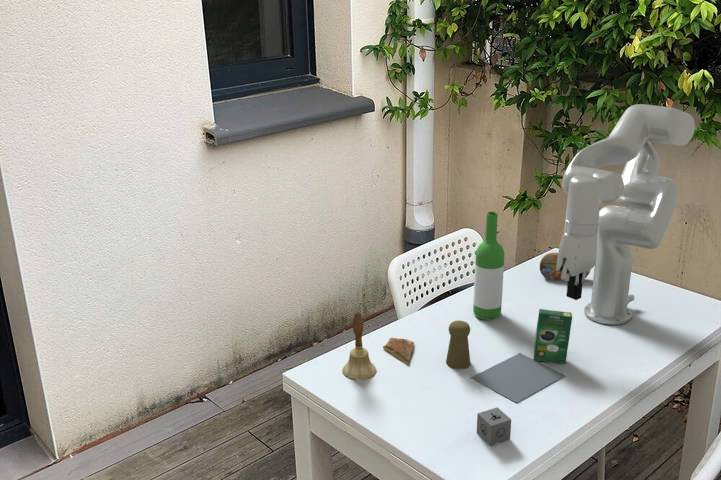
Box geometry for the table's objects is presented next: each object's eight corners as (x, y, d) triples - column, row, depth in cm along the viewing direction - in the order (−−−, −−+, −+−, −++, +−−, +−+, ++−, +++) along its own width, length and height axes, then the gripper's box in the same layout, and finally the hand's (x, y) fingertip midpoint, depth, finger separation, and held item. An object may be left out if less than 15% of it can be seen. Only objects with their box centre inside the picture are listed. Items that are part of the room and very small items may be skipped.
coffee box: (566, 358, 189) (572, 311, 185) (566, 364, 187) (572, 316, 182) (533, 355, 191) (538, 307, 186) (533, 360, 188) (538, 312, 184)
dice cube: (490, 446, 157) (491, 425, 155) (476, 433, 161) (477, 413, 159) (510, 439, 159) (511, 419, 157) (496, 427, 163) (497, 407, 161)
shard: (408, 366, 188) (408, 360, 187) (378, 363, 189) (378, 357, 189) (415, 345, 198) (415, 339, 197) (386, 342, 199) (386, 336, 199)
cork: (456, 354, 192) (457, 315, 188) (475, 362, 188) (477, 322, 184) (440, 362, 188) (442, 323, 184) (460, 371, 184) (461, 331, 180)
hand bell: (370, 382, 181) (370, 322, 175) (337, 377, 183) (336, 317, 177) (380, 364, 188) (379, 306, 182) (348, 360, 190) (347, 302, 185)
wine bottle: (487, 323, 207) (493, 220, 196) (467, 313, 213) (471, 212, 202) (506, 315, 212) (513, 213, 201) (486, 305, 217) (491, 206, 207)
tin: (538, 279, 234) (540, 254, 231) (538, 275, 237) (540, 250, 234) (589, 282, 232) (592, 256, 229) (588, 278, 235) (590, 252, 231)
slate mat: (519, 353, 192) (519, 352, 192) (565, 375, 182) (565, 375, 182) (470, 378, 182) (470, 377, 181) (516, 403, 171) (516, 402, 171)
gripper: (586, 217, 188) (579, 285, 195) (548, 229, 180) (542, 300, 186) (612, 224, 183) (604, 294, 189) (575, 238, 174) (567, 311, 180)
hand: (573, 297), depth 188 cm, fingers closed
